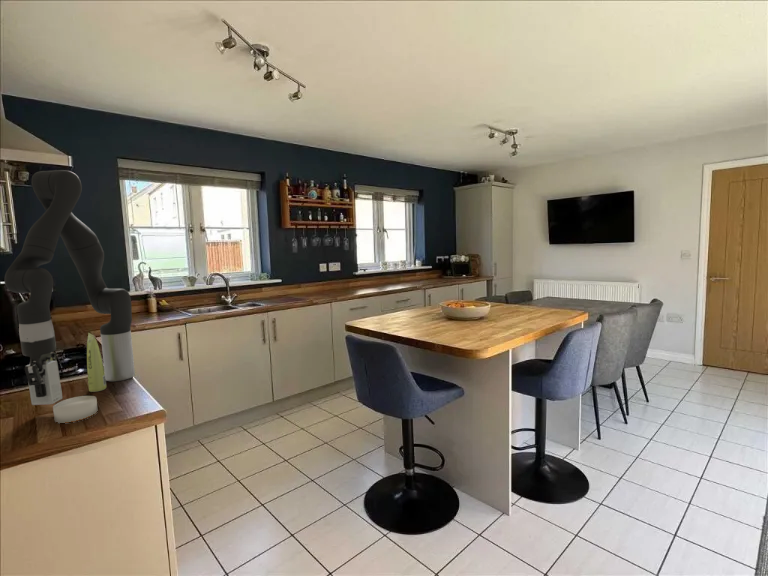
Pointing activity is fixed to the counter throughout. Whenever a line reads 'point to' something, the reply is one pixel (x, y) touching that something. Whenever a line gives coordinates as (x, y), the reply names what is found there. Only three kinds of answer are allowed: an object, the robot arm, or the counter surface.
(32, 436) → the counter surface
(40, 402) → the skincare box
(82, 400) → the stand
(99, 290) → the robot arm
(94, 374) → the tube
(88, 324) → the counter surface
